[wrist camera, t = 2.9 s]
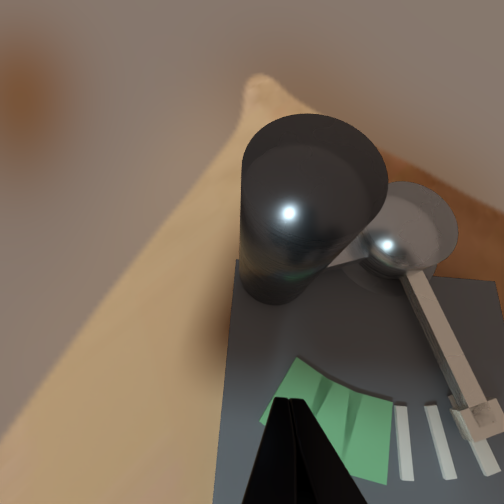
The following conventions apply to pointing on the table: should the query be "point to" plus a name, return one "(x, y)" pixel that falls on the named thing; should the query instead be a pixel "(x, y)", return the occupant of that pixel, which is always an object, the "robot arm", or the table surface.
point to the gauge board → (366, 385)
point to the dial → (350, 235)
